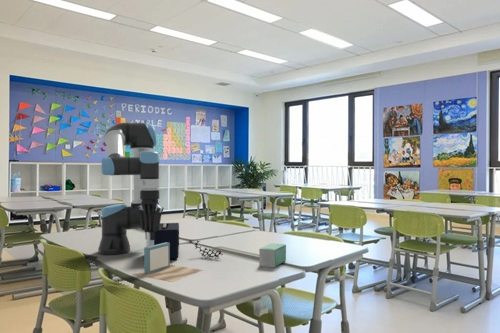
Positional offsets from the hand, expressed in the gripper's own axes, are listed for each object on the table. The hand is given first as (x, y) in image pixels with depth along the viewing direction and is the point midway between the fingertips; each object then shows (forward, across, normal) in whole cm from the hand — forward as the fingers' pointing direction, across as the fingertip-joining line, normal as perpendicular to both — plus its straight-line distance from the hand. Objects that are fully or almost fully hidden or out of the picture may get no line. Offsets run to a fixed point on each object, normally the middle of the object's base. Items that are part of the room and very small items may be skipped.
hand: (150, 248), depth 156 cm
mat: (+9, +10, 0) cm, 13 cm away
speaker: (+9, -12, +21) cm, 26 cm away
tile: (+9, +4, 0) cm, 9 cm away
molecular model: (+9, +8, +28) cm, 31 cm away
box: (+10, +37, +35) cm, 52 cm away
